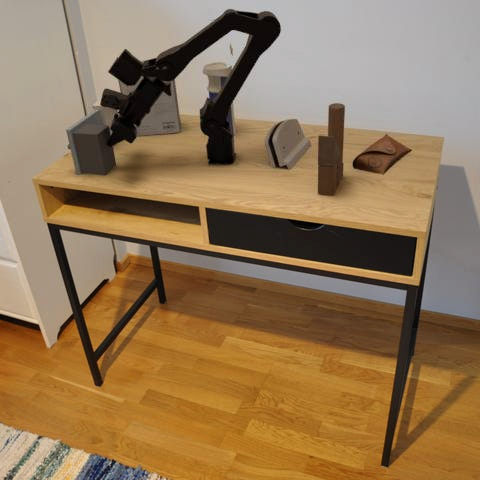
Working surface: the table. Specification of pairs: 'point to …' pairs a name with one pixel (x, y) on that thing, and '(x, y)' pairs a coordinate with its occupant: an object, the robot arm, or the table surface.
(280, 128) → the hinge
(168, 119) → the hard drive box
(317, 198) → the table surface
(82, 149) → the doorstop block
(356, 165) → the sunglasses case
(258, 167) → the table surface
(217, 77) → the water bottle
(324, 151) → the wooden block
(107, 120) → the wall frame
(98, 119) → the door
